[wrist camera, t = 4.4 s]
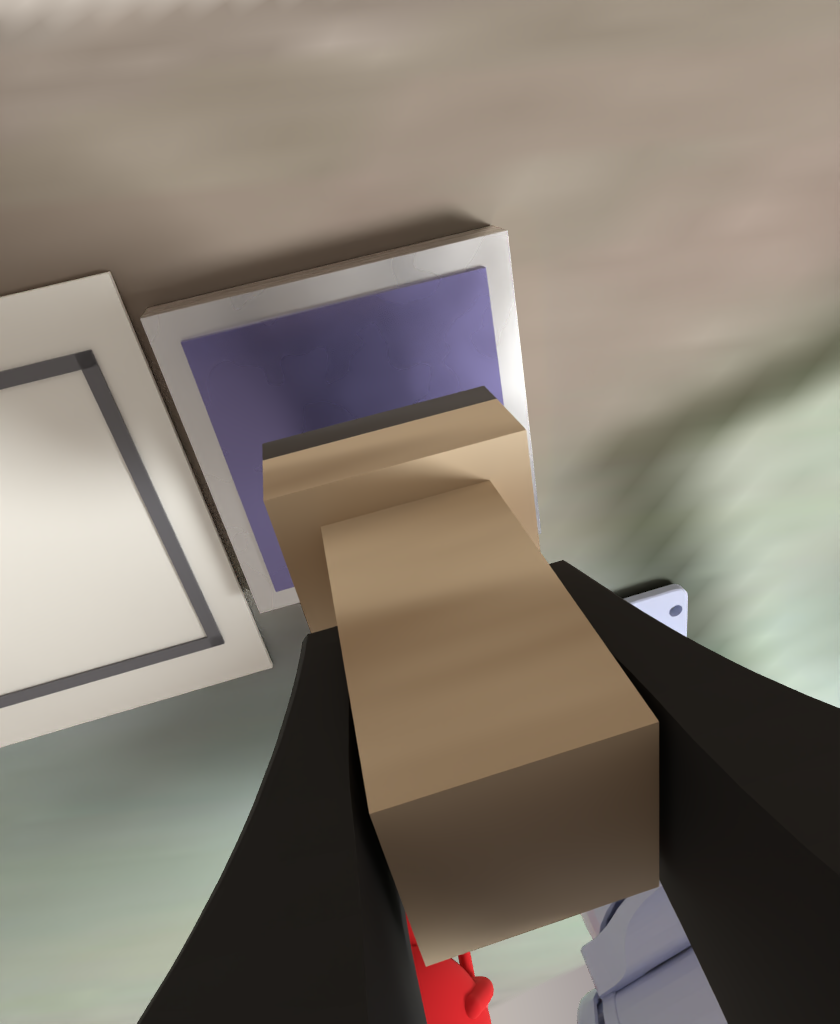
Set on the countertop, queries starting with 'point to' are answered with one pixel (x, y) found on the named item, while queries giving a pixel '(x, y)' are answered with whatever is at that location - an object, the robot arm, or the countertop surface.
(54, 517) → the paper
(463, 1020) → the red rounded piece
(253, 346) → the ink pad
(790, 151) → the countertop surface
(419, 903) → the stamp
